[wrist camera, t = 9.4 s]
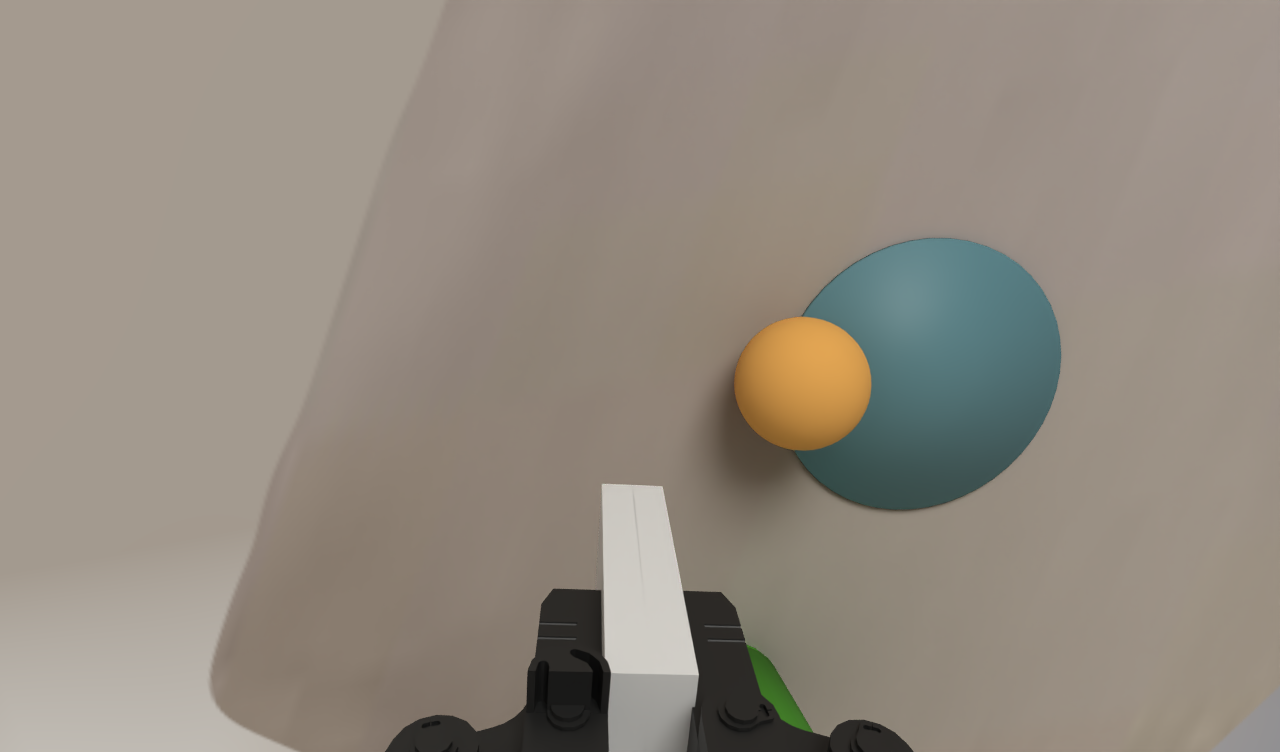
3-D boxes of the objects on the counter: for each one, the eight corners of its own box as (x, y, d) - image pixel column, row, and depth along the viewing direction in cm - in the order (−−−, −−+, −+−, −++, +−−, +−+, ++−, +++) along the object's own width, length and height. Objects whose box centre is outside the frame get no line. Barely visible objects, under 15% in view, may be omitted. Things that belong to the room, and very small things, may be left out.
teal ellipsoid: (1091, 248, 31) (1094, 249, 31) (1019, 512, 35) (1022, 514, 35) (801, 227, 30) (802, 228, 30) (761, 502, 34) (762, 504, 34)
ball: (711, 326, 28) (760, 307, 32) (715, 459, 29) (761, 423, 33) (854, 330, 25) (885, 309, 30) (852, 478, 26) (882, 435, 31)
